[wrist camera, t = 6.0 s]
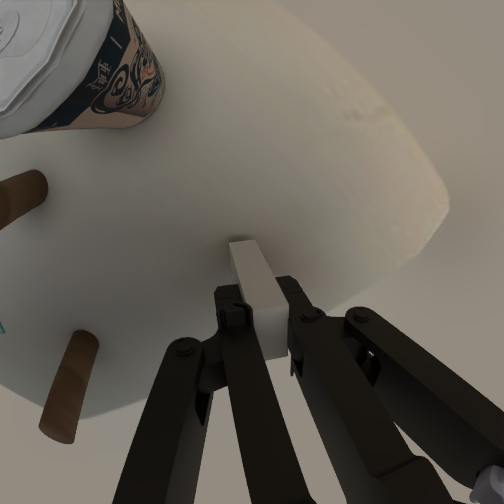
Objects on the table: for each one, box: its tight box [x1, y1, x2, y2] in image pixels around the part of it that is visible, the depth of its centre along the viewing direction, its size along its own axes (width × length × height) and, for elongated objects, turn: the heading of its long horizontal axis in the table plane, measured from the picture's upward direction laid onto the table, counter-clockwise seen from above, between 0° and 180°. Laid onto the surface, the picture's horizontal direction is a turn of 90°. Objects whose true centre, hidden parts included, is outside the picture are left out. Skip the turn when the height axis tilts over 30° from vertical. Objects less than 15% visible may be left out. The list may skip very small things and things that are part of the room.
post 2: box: [39, 330, 99, 444], centre depth 15 cm, size 2×2×9 cm
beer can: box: [0, 0, 165, 139], centre depth 8 cm, size 5×5×12 cm
